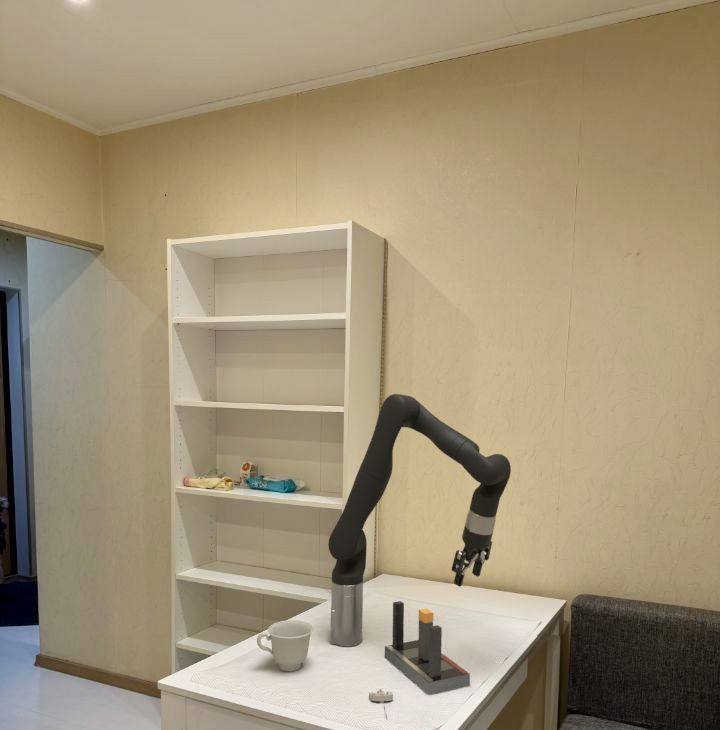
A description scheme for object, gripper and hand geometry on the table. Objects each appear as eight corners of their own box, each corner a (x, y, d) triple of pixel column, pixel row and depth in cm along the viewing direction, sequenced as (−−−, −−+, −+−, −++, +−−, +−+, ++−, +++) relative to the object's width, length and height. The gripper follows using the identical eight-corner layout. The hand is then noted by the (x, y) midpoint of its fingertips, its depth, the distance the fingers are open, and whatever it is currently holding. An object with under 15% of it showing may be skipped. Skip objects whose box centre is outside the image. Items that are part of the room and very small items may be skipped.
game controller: (387, 693, 153) (387, 682, 153) (409, 717, 143) (409, 705, 143) (365, 697, 151) (366, 686, 151) (386, 721, 141) (386, 709, 141)
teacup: (252, 661, 169) (252, 624, 169) (305, 654, 174) (306, 617, 174) (261, 681, 157) (262, 641, 158) (318, 673, 163) (319, 634, 163)
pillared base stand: (428, 695, 152) (429, 632, 152) (384, 657, 173) (385, 601, 173) (469, 685, 157) (470, 624, 158) (422, 650, 178) (422, 596, 178)
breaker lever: (424, 661, 163) (425, 613, 163) (418, 656, 166) (418, 609, 166) (432, 659, 164) (433, 612, 164) (426, 654, 167) (426, 608, 167)
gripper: (482, 513, 174) (470, 565, 178) (452, 526, 164) (440, 580, 168) (505, 526, 169) (492, 578, 173) (475, 540, 159) (462, 595, 163)
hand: (466, 579), depth 170 cm, fingers open, 8 cm apart
